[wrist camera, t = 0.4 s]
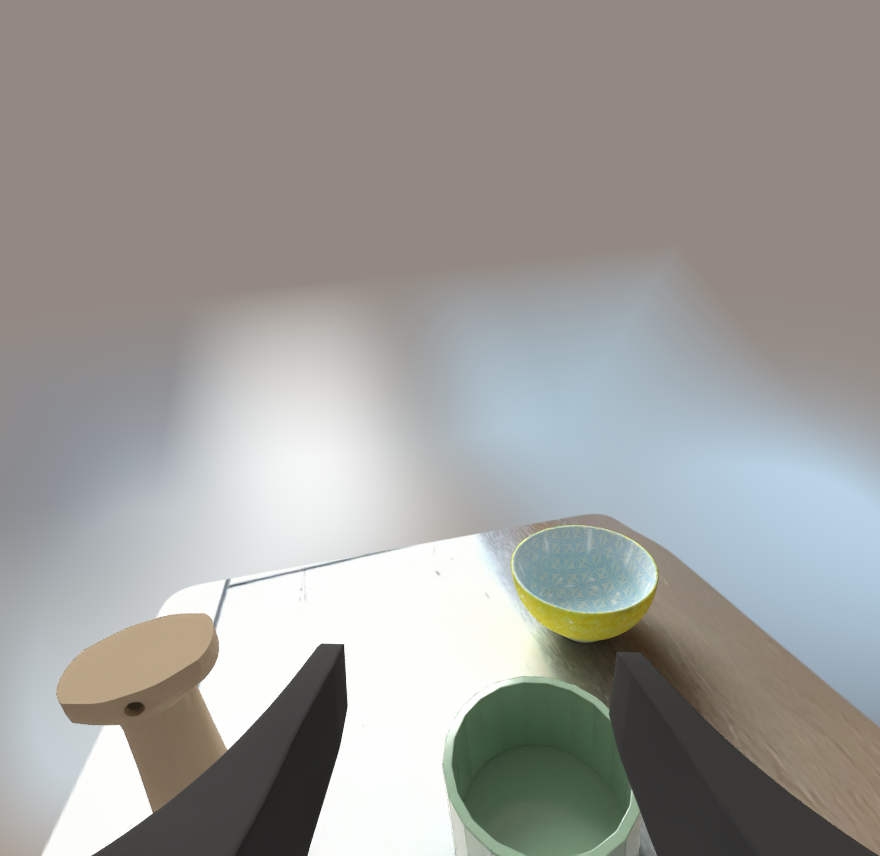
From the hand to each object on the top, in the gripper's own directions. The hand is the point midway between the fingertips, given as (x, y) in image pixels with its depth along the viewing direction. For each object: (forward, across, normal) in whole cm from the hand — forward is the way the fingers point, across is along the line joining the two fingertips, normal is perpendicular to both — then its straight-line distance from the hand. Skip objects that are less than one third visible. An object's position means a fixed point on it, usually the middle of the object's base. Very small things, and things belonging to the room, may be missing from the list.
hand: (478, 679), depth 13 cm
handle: (+9, +14, +22) cm, 27 cm away
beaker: (+10, -5, +20) cm, 22 cm away
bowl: (+25, -10, +18) cm, 33 cm away
